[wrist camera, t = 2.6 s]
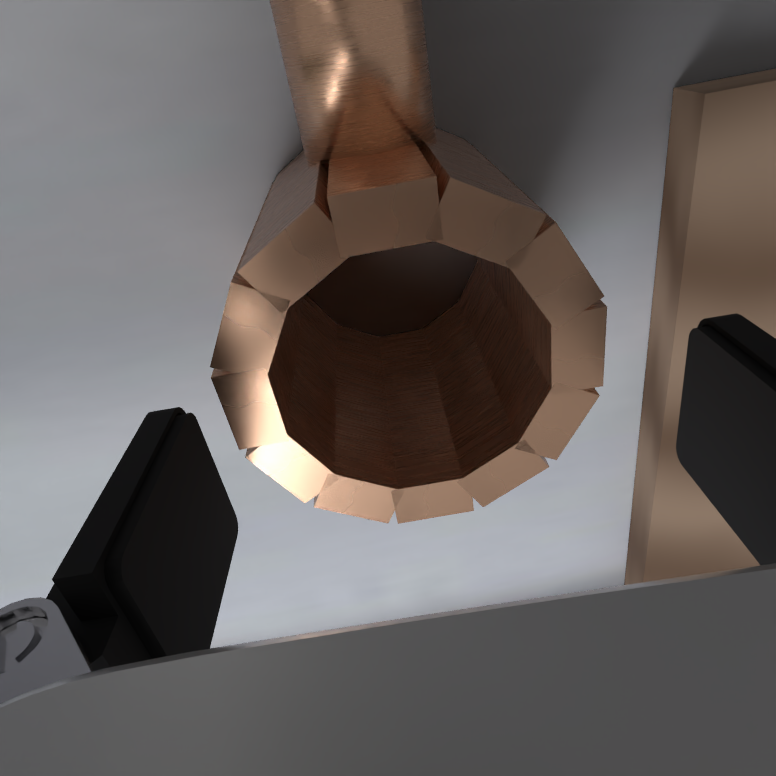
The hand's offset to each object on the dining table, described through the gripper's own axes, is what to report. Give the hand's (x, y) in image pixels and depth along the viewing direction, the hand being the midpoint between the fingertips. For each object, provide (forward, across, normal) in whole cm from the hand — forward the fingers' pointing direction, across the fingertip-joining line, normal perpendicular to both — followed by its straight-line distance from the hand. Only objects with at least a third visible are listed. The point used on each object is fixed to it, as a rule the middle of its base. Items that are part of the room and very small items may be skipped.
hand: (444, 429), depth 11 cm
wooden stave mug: (+7, +1, -3) cm, 8 cm away
